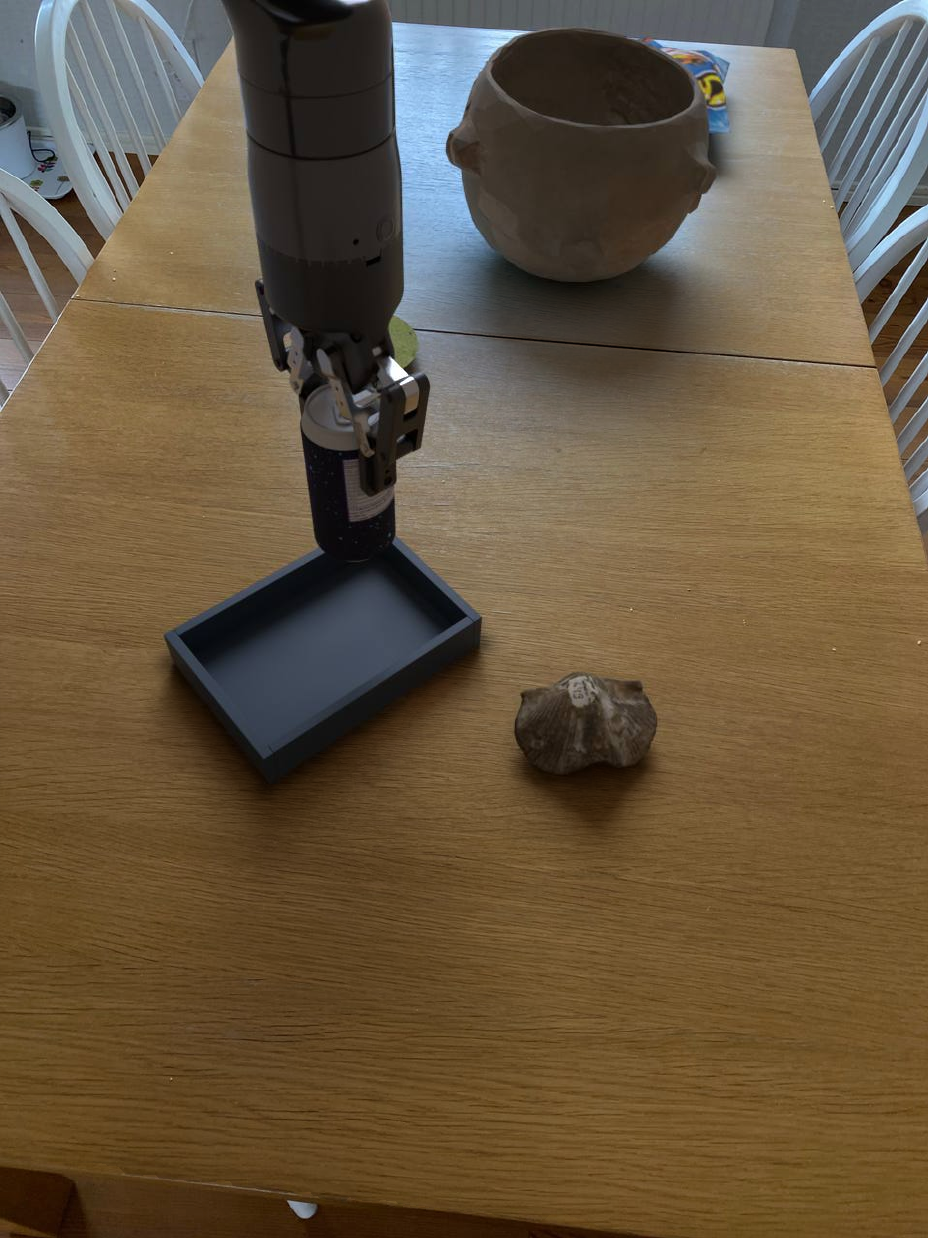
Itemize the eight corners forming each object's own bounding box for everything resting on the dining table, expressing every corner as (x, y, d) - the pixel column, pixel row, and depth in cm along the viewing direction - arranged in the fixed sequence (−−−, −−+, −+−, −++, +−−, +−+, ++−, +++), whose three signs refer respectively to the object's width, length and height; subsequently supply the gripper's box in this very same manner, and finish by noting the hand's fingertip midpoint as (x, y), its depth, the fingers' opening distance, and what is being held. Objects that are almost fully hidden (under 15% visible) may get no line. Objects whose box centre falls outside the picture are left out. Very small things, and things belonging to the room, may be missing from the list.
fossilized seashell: (659, 678, 72) (526, 670, 74) (659, 671, 65) (513, 663, 67) (654, 780, 71) (520, 769, 73) (654, 783, 64) (506, 771, 66)
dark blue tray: (270, 784, 68) (263, 759, 65) (173, 662, 74) (163, 634, 71) (480, 644, 76) (482, 617, 73) (376, 544, 82) (375, 515, 79)
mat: (439, 347, 99) (439, 331, 98) (380, 408, 93) (379, 392, 91) (348, 313, 102) (346, 297, 101) (285, 370, 96) (283, 353, 95)
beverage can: (390, 507, 70) (385, 372, 60) (400, 565, 67) (397, 432, 57) (312, 514, 69) (294, 380, 60) (318, 574, 66) (300, 441, 56)
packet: (592, 157, 124) (603, 88, 118) (603, 77, 139) (613, 11, 132) (726, 172, 123) (744, 103, 117) (723, 89, 138) (739, 24, 131)
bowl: (691, 205, 118) (733, 25, 102) (683, 345, 101) (731, 155, 85) (473, 178, 120) (480, -2, 104) (428, 310, 103) (428, 119, 87)
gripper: (190, 178, 50) (239, 427, 64) (352, 307, 44) (368, 554, 57) (309, 138, 54) (332, 382, 67) (476, 253, 47) (465, 498, 60)
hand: (349, 460), depth 62 cm, fingers closed on beverage can, 5 cm apart
